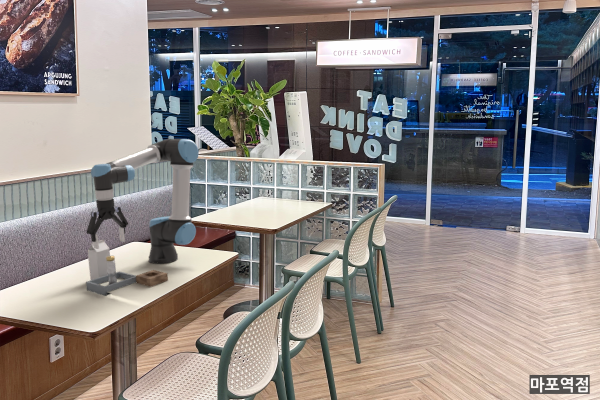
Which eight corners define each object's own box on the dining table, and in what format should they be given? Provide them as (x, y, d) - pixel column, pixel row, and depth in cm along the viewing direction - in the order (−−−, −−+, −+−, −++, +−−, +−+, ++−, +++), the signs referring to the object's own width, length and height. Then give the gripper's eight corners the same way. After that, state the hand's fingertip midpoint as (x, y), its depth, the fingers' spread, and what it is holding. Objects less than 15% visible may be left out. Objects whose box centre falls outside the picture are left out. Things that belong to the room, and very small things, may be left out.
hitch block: (154, 279, 258) (153, 269, 258) (168, 283, 253) (167, 273, 252) (136, 285, 251) (135, 275, 250) (150, 289, 245) (150, 279, 244)
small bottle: (114, 283, 252) (111, 255, 249) (118, 284, 250) (116, 256, 247) (107, 285, 249) (104, 257, 246) (112, 287, 247) (109, 258, 244)
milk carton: (112, 278, 262) (108, 240, 259) (99, 282, 257) (95, 243, 253) (102, 276, 266) (99, 238, 263) (90, 280, 261) (86, 242, 257)
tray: (120, 279, 261) (119, 271, 260) (139, 284, 253) (138, 276, 252) (86, 290, 247) (85, 281, 246) (105, 296, 238) (104, 287, 238)
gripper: (123, 193, 254) (127, 237, 258) (74, 203, 235) (80, 250, 239) (133, 194, 250) (137, 239, 254) (84, 204, 230) (90, 252, 234)
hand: (109, 244), depth 246 cm, fingers open, 13 cm apart
